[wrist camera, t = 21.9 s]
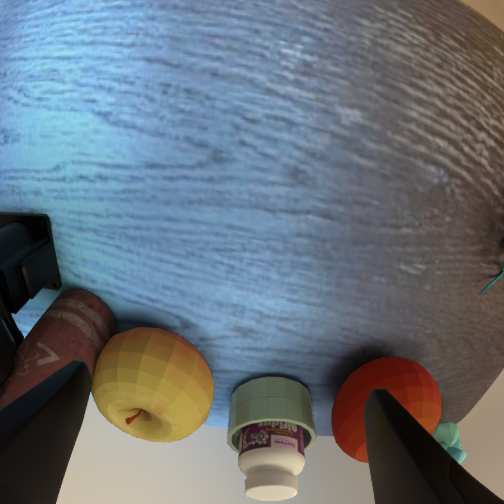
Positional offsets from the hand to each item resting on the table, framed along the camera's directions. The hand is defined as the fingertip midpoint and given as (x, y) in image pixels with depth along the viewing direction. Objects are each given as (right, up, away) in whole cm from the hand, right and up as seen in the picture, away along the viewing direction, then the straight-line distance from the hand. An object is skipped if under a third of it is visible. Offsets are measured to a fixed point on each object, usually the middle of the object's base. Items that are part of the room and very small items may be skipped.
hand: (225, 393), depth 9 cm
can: (-13, -1, +16) cm, 21 cm away
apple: (-7, -4, +17) cm, 19 cm away
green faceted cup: (+3, -10, +19) cm, 21 cm away
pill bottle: (+3, -10, +19) cm, 21 cm away
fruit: (+12, -7, +17) cm, 22 cm away
